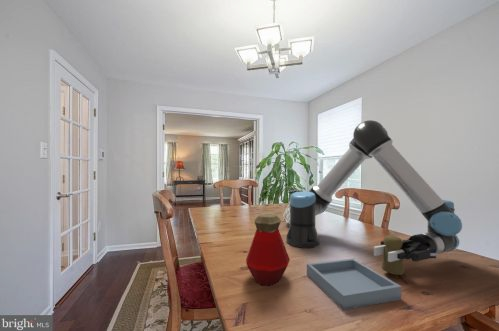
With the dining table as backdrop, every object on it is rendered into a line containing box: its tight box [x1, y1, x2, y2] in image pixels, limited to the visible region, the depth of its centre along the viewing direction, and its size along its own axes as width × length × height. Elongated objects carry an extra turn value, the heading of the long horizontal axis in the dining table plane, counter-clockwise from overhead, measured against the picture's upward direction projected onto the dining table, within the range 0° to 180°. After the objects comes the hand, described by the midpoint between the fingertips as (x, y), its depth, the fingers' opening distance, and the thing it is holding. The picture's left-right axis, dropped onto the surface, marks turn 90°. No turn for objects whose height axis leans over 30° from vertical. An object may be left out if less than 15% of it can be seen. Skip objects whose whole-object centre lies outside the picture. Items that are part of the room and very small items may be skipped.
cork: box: [381, 235, 404, 276], centre depth 70 cm, size 6×6×11 cm
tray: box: [306, 258, 402, 311], centre depth 63 cm, size 18×18×4 cm
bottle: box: [245, 212, 291, 287], centre depth 68 cm, size 16×14×20 cm
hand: (381, 254), depth 68 cm, fingers closed on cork, 4 cm apart
